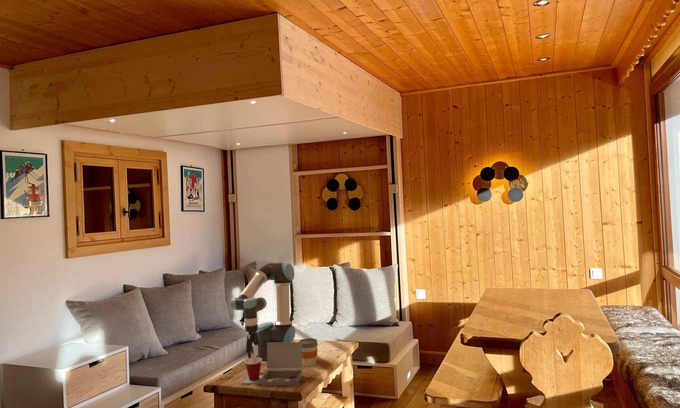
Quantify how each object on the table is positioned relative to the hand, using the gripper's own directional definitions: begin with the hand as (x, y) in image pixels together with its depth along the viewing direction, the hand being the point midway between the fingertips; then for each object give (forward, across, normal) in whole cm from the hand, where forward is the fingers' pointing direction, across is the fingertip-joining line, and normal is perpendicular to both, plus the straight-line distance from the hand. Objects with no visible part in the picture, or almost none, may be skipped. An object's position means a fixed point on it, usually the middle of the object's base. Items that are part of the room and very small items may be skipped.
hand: (253, 359), depth 324 cm
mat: (+13, +1, 0) cm, 13 cm away
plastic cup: (+12, 0, 0) cm, 12 cm away
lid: (+1, -7, +17) cm, 19 cm away
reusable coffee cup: (+14, -29, +29) cm, 43 cm away
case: (+13, +2, +17) cm, 22 cm away
